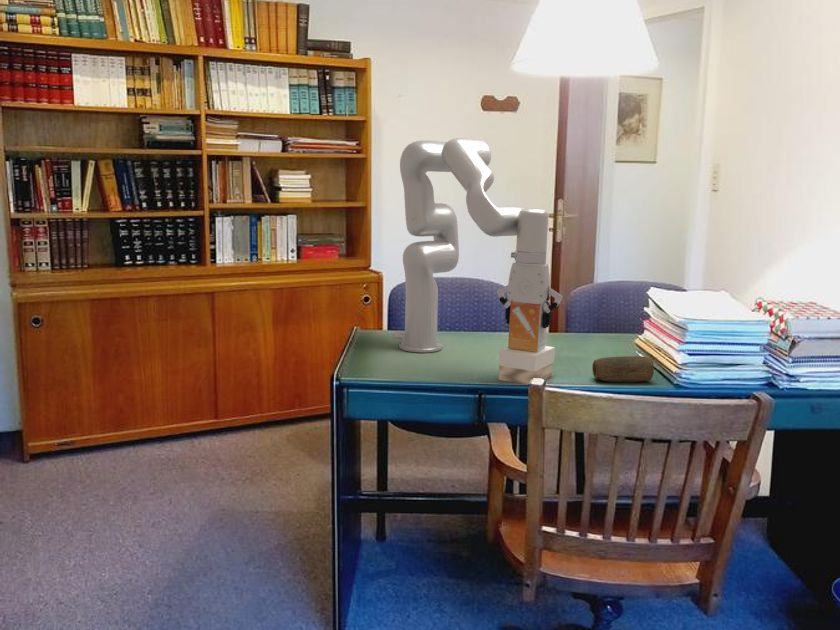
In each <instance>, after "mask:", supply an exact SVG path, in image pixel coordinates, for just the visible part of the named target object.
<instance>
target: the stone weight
mask: <svg viewBox="0 0 840 630" xmlns="http://www.w3.org/2000/svg"><path fill="white" fill-rule="evenodd" d="M654 369H655V367H654V361H653V359H652V358H651V357H648V356H639V355H637V356H635V355H633V356H631V355H628V356H607V357H600V358H597V359H594V360H593V362H592V370H591V371H592V375H593V378H594V379H595V380H597V381H602V382H611V383H612V382H613V383H621V382H622V383H634V382H636V383H637V382H638V381H639V382H647V381H650V380H652V379H653V377H654V372H655V370H654Z"/></svg>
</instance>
